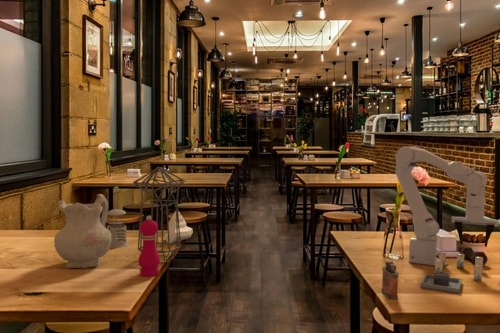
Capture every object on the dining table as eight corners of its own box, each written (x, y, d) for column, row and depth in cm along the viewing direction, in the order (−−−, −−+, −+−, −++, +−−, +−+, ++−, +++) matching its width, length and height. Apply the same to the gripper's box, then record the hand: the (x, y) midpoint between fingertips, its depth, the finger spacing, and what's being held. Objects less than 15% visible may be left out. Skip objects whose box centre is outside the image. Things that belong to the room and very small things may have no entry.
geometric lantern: (131, 263, 169) (129, 168, 166) (151, 252, 184) (150, 165, 181) (170, 267, 164) (169, 169, 162) (188, 255, 179) (187, 166, 177)
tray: (420, 287, 144) (420, 283, 144) (425, 278, 154) (425, 273, 154) (459, 293, 139) (459, 288, 139) (461, 283, 149) (461, 278, 149)
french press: (133, 244, 197) (133, 186, 196) (112, 249, 188) (111, 188, 186) (117, 241, 203) (117, 184, 201) (96, 246, 193) (95, 187, 191)
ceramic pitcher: (80, 256, 181) (74, 193, 179) (126, 256, 177) (120, 191, 175) (45, 273, 160) (38, 202, 158) (96, 273, 156) (89, 200, 154)
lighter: (379, 290, 142) (380, 258, 141) (389, 290, 142) (390, 258, 141) (389, 300, 134) (390, 266, 133) (400, 299, 134) (401, 266, 133)
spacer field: (434, 275, 157) (434, 260, 157) (439, 264, 170) (439, 251, 170) (481, 281, 150) (482, 266, 150) (482, 270, 164) (483, 256, 163)
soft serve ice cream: (156, 246, 201) (152, 213, 203) (179, 242, 213) (175, 212, 215) (176, 242, 194) (172, 209, 196) (200, 239, 206) (195, 207, 208)
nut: (432, 285, 145) (433, 274, 145) (434, 280, 150) (435, 270, 150) (447, 287, 143) (448, 276, 143) (449, 283, 148) (450, 272, 147)
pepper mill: (164, 272, 159) (163, 214, 157) (153, 278, 152) (152, 218, 150) (145, 269, 161) (145, 213, 160) (134, 275, 154) (133, 216, 153)
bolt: (463, 259, 184) (482, 269, 169) (452, 253, 184) (470, 262, 169) (471, 247, 184) (490, 256, 169) (460, 240, 184) (478, 249, 169)
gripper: (451, 206, 160) (449, 244, 161) (498, 209, 154) (496, 249, 155) (453, 203, 167) (451, 240, 168) (498, 206, 160) (496, 245, 161)
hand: (473, 244), depth 162 cm, fingers open, 7 cm apart
